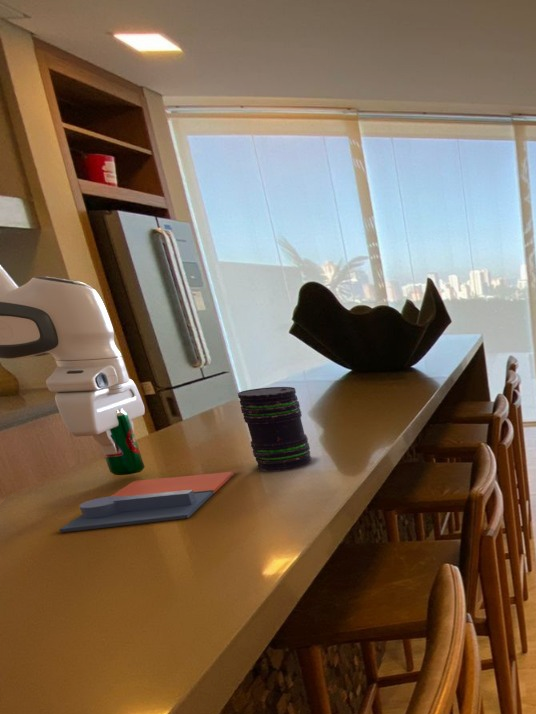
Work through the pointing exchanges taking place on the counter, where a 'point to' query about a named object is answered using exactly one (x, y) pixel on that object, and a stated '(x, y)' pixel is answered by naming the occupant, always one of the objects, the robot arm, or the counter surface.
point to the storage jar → (275, 428)
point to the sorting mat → (202, 491)
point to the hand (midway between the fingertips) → (120, 449)
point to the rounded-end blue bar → (135, 503)
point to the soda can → (124, 448)
